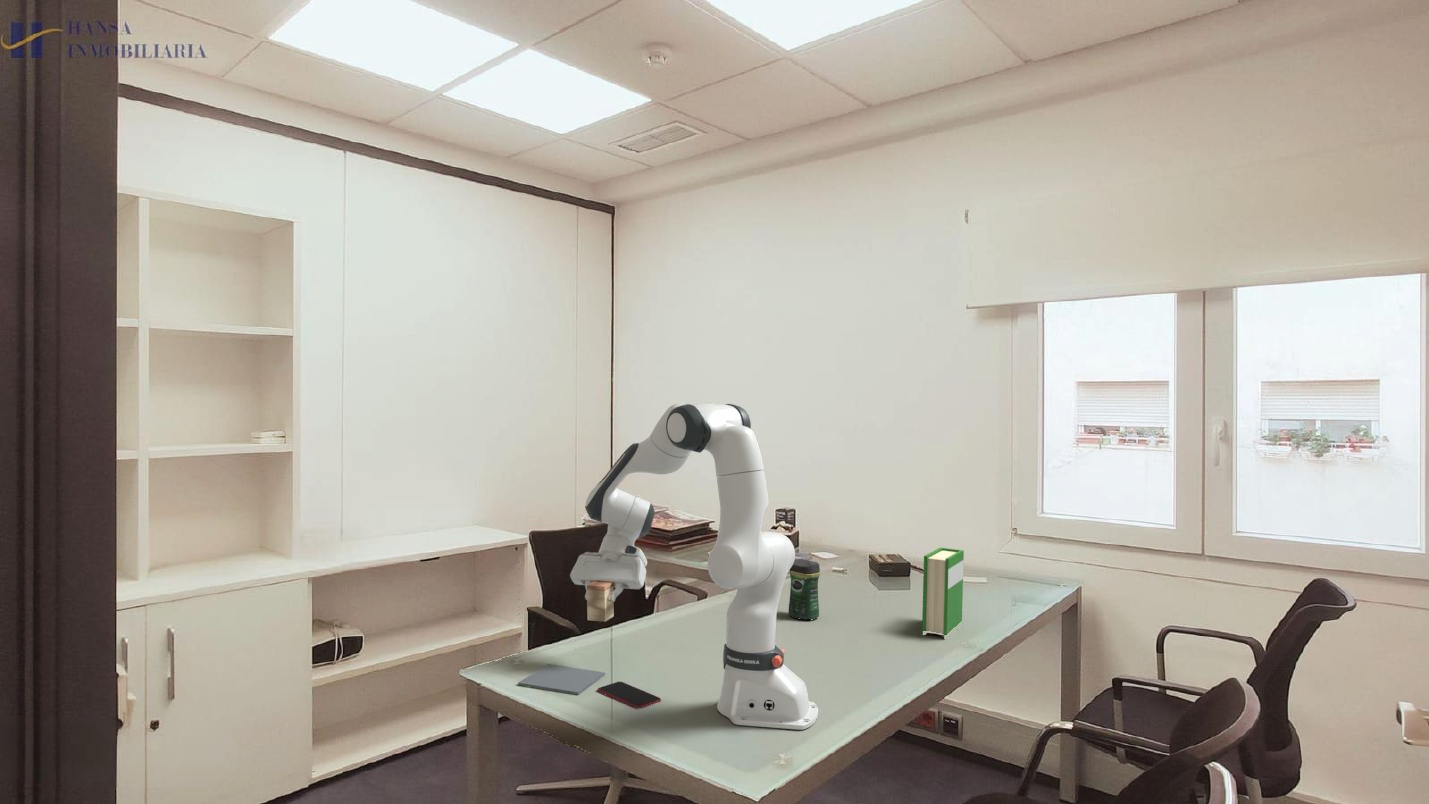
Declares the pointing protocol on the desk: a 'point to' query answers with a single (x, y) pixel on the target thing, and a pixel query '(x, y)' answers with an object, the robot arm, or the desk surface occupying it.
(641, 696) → the smartphone
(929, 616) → the hardback book
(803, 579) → the coffee jar
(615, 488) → the robot arm
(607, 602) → the beech block
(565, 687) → the rubber mat
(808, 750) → the desk surface
